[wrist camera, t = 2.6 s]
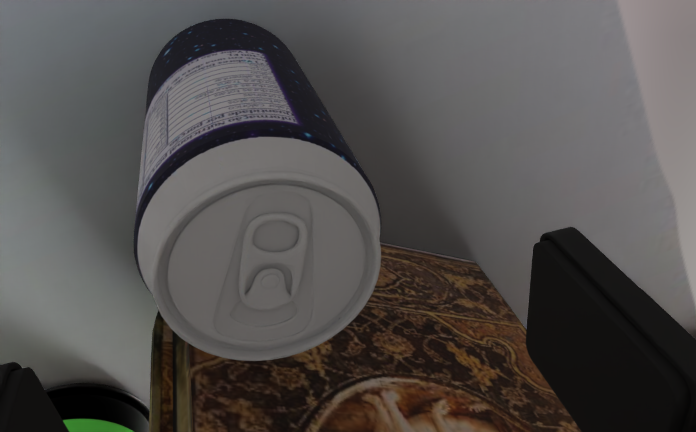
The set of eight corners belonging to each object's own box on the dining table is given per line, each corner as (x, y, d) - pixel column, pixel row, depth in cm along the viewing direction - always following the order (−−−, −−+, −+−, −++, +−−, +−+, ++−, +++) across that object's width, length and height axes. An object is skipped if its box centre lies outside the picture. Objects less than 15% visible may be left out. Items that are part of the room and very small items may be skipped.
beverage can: (147, 151, 23) (129, 381, 13) (150, 1, 20) (130, 146, 10) (289, 160, 24) (370, 368, 15) (310, 23, 22) (426, 165, 12)
